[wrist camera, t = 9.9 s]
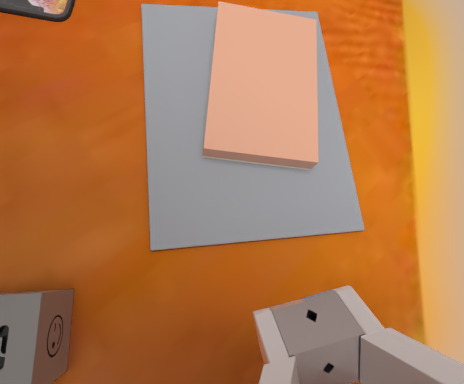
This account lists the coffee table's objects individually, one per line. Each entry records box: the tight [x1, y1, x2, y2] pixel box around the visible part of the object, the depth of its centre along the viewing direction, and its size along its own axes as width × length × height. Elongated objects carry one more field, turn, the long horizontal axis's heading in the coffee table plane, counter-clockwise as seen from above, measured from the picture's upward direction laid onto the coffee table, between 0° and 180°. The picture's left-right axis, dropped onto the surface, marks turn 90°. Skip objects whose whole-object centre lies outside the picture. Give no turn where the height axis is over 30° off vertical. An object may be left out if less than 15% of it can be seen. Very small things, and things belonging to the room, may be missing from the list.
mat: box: [141, 4, 365, 251], centre depth 26 cm, size 17×22×1 cm
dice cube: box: [0, 289, 74, 384], centre depth 17 cm, size 5×5×5 cm
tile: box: [202, 1, 318, 170], centre depth 25 cm, size 2×9×14 cm
